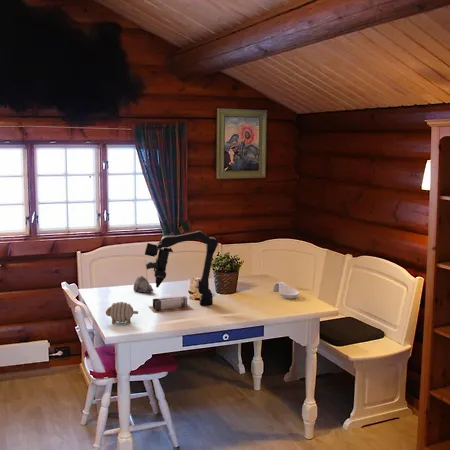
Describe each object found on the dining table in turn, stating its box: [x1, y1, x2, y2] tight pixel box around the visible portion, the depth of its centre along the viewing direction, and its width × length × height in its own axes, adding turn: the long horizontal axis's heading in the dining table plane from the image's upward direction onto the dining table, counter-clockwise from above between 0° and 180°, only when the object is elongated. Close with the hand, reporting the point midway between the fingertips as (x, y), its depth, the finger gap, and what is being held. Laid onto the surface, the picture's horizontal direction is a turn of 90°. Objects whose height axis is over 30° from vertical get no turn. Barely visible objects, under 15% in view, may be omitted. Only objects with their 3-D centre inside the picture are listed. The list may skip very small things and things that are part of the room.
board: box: [148, 303, 194, 314], centre depth 356 cm, size 22×14×1 cm, turn 109°
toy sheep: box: [105, 301, 139, 325], centre depth 331 cm, size 11×17×11 cm, turn 88°
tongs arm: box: [155, 296, 184, 310], centre depth 354 cm, size 17×2×5 cm, turn 119°
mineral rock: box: [132, 275, 154, 293], centre depth 395 cm, size 13×11×10 cm
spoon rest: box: [272, 281, 300, 300], centre depth 390 cm, size 24×12×7 cm, turn 23°
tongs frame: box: [152, 295, 188, 308], centre depth 357 cm, size 19×3×5 cm, turn 109°
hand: (156, 285), depth 359 cm, fingers open, 9 cm apart
